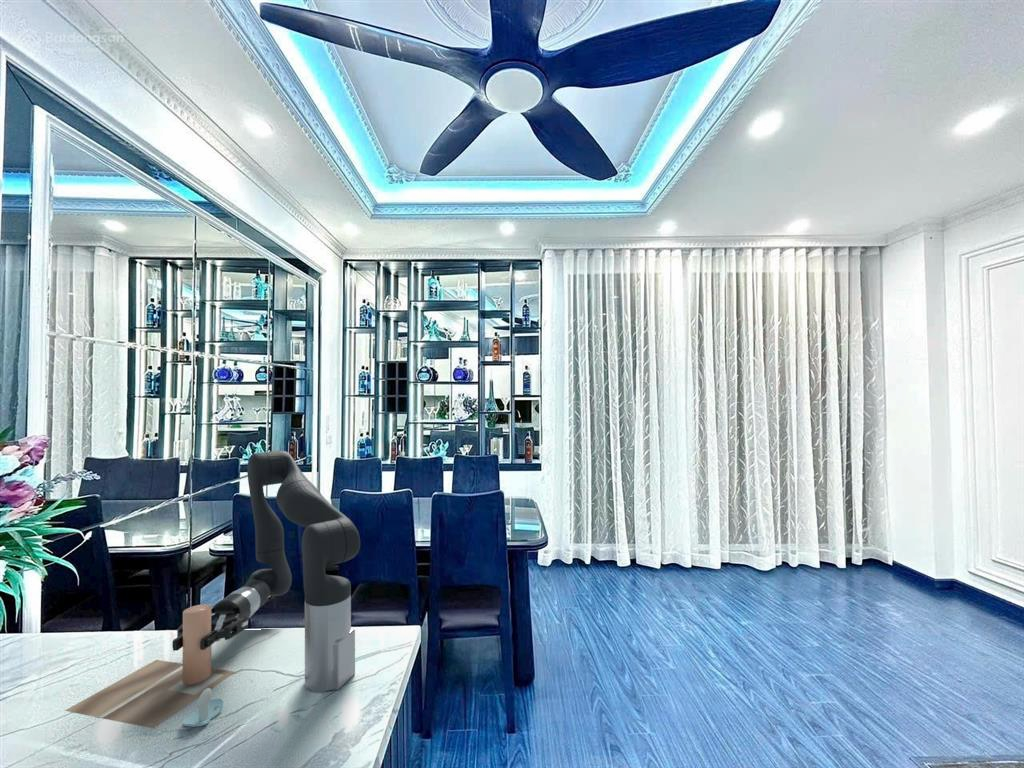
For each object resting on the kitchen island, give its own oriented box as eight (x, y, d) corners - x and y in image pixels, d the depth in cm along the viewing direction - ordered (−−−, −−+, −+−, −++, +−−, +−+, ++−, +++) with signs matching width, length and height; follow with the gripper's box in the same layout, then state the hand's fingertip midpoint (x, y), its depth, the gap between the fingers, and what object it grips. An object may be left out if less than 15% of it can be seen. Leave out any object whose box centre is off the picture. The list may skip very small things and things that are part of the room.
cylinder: (216, 671, 100) (217, 605, 100) (195, 685, 95) (195, 615, 95) (198, 668, 101) (198, 603, 101) (176, 682, 96) (176, 613, 97)
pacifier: (167, 737, 83) (198, 738, 82) (166, 701, 83) (197, 701, 83) (199, 710, 90) (228, 710, 90) (198, 677, 91) (227, 677, 90)
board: (235, 674, 101) (235, 671, 102) (153, 731, 84) (154, 728, 84) (156, 662, 107) (156, 659, 107) (64, 713, 89) (64, 710, 89)
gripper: (206, 593, 112) (153, 628, 95) (266, 592, 113) (223, 626, 96) (206, 625, 112) (152, 665, 95) (266, 623, 112) (223, 663, 95)
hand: (188, 645), depth 95 cm, fingers closed on cylinder, 5 cm apart
